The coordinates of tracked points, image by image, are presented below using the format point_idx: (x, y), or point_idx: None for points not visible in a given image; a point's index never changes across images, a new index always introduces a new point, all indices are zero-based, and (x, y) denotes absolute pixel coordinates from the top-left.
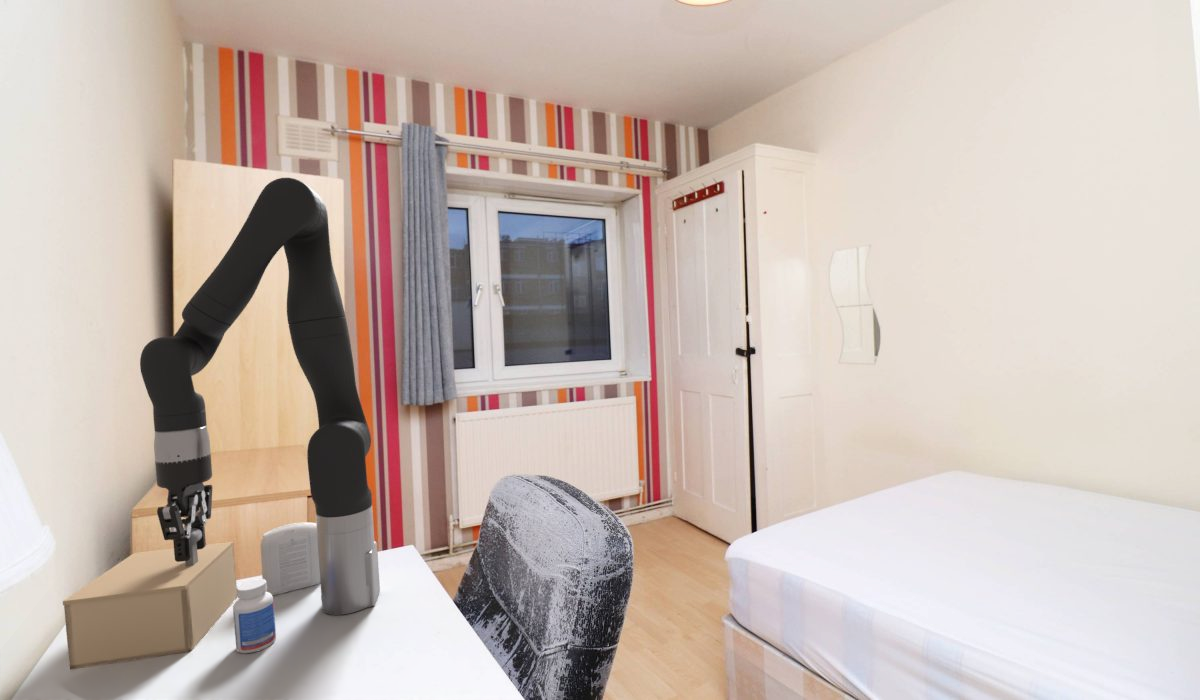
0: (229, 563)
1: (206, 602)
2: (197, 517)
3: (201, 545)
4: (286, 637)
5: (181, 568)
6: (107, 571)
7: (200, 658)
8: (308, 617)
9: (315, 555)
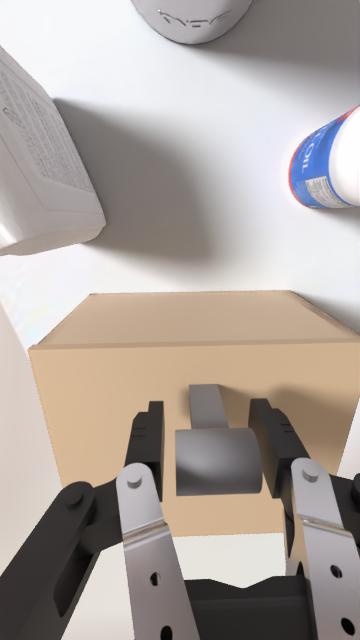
0: (93, 325)
1: (235, 308)
2: (117, 532)
3: (163, 411)
4: (318, 107)
5: (229, 404)
6: (182, 535)
7: (322, 263)
8: (240, 75)
9: (7, 57)
